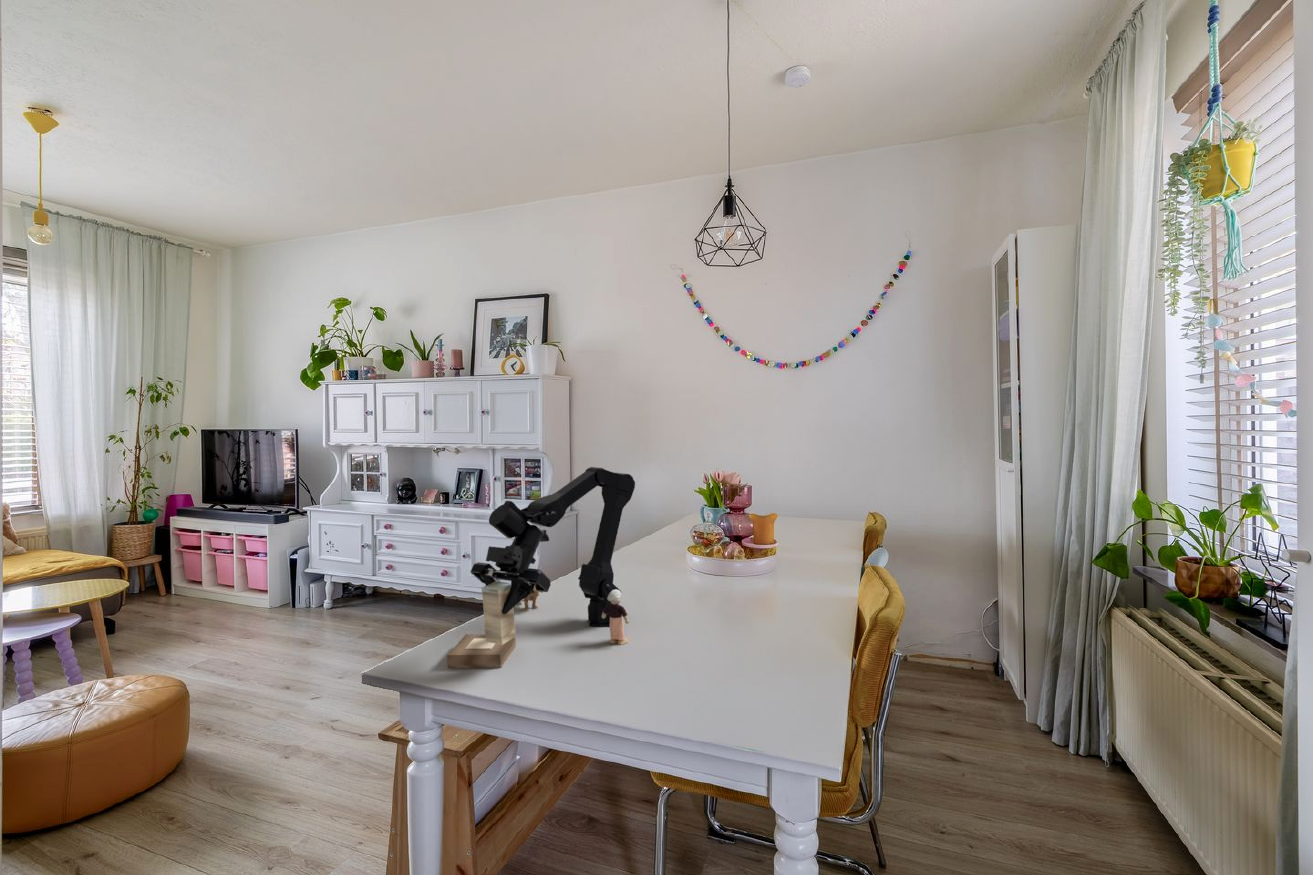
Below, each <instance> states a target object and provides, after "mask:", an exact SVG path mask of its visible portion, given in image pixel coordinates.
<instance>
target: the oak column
mask: <svg viewBox="0 0 1313 875" xmlns="http://www.w3.org/2000/svg"><path fill="white" fill-rule="evenodd" d="M510 590H511V582H504V581H500V582H497V581H495V582H493V583H491V584H489V585H487V586H486V585H485V586H483V587H481V594H482V595H481V596H482V606H483V621H484V623H483V624H484V634H485V636H486V642H490V643H495V644H501V645H503V644H504V643H506V642H508V641H509V640H511V639H513V638H515V639H516V637H517V636H516V635H517V634H516V624H515V610H514V607H515V606H514V607H513V608H512V609H511V610H510V611H509V612H508V613H506V614H503V613H502V609H503V606H504V603H505V601H506V599H507V596H508V594H509V592H510Z"/></svg>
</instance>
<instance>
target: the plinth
mask: <svg viewBox="0 0 1313 875" xmlns="http://www.w3.org/2000/svg"><path fill="white" fill-rule="evenodd" d="M516 644H517V643H516V637H515V638H513V639H511V640H509V641H508V642H506V643H504V644H503V645H501V644H495V643H490V642H486V636H485V633H478V634H465V635H464V636H463V637H461V639H460V640H459V641H458V643H456V645H454V646H453V648H452V649H451V650H450V651H448V654H446V662H447V669H502V667H503V665H504V664H505V663H506V661H507V660H508V658H509V657H510V656H511V654H512V653H513V651H514V650H515V648H516ZM504 662H505V663H504Z"/></svg>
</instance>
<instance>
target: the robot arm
mask: <svg viewBox="0 0 1313 875" xmlns="http://www.w3.org/2000/svg"><path fill="white" fill-rule="evenodd" d="M596 487H601V497H602V500H603V509H602V514H601V518H600V522H599V527H598V531H597V534H596V540H595V544H594V549H593V552H592V556H591V559H590V560H589V561H588V563H587V564H586V563H583V564H582V565H581V566H580V574H579V577H578V578H577V579H578V580H579V584H578V587H579V588H580V590H581V592H582V593H583V595H584V598H585V599H589V603H588V605H587V617H588V619H587V621H588V622H589V623H588V625H589V627H610V614H606V617H605V618H602V617H601V616H602V613H603V609H604V608H605V607H606V606H608V605H610V604H612V603H611V601H608V599H607V598H608V595H609V593H610V592H611V591H613V590H615V589H617V590H620V589H619V587H617V586H616V585H615V584H614V577H615V576H614V570H613V566H612V558H613V554H614V549H615V545H616V541H617V535H618V530H619V528H620V523H621V518H622V514H623V509H624V508H625V506H626V505H627V504H628V503H629V502H630V500H631V499H632V496H633V493H634V491H635V488H636V481H635V480H634V478H633V476H632V475H631V474H629V473H622V472H621V473H620V472H613V471H611V470H610V471H609V470H607V469H605V468H603V467H598V466H597V467H595V466H590V467H588V468H586V470H585V471H584V472H583V473H581V474H579V475H578V476H577V477H575V478H574V479H572V481H571V480H570V481H569V482H568V483H567V484H566V485H565V486H563V487H561V488H560V489H558V491H556V492H554V493H552V494H549V495H545V496H541V497H539V498H537V499H534V500H533V501H531V502H530V503H529V504H528V505H527V506H526V507H524V508H522V509H520V508H519V507H518V506H517V505H516V504H515V503H514V502H513V501H512V500H505V501H504V504H501V505H499V506H498V507H497V508H495V510H493V511H492V512H491V514H490V516H489V518H488V523H489V525H490V526H491V527H493V528H495V530H497V532H499V533H500V534H502V535H503V536H504V537H506V538H507V539H512V538H513V541H512V543H511V544H510V545H506V546H505V547H500V546H499V547H498V546H488V549H487V553H486V558H485V561H486V562H493V563H494V566H496V567H497V568H499V570H497V569H496V568H495V567H494V566H493V565H491V564H490V563H486V562H475V563H473V565H472V568H471V569H470V573H471V575H473V576H474V577H475V578H476V579H478V580H479V581H480V583H483V584H484V585H485V586H487V585H489V584H491V583H493V582H495V581H497V582H502V581H509V582H510V583H511V590H510V592H509V594H508V596H507V599H506V601H505V603H504V606H503V609H502V613H503V614H506V613H508V612H509V611H510V610H511V609H512V608H513V607H516V605H518V603H519V602H520V601H521V600H522V601H524V598H525V597H527V596H528V595H529V594H533V593H534V590H533V588H534V586H535V588H536V590H537V591H541V592H543V593H548V592H549V590H550V587H551V586H552V585H551V579H550V578H549V577H548V575H546V573H544V571H542V570H541V569H540V568H539V569H538V568H530V566H531V564H532V565H535V564H536V559H535V554H536V552H537V549H538V547H539V546H540V543H541V542H542V543H543V542H544V543H545V542H549V541H550V537H549V536H548V534H547V530H546V529H540V528H539V527H538V526H542V527H545V528H552V527H554V526H555V525H557V524H558V523H559V521H561V519H562V518H563V517H565V514H566V511H567V510H568V509H569V508H570V507H571V506H572V505H574V504H575V503H576V502H577V501H579V500H580V499H582V498H584V496H586V495H587V494H588V493H589V492H591V491H593V489H595V488H596ZM541 592H540V593H541ZM620 592H621V593H622V590H620Z"/></svg>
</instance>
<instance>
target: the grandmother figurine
mask: <svg viewBox="0 0 1313 875" xmlns="http://www.w3.org/2000/svg"><path fill="white" fill-rule="evenodd" d="M620 591H621V590H620V589H619V590H617V589H615V590H613V591H611V592H610V593H609V595H608V598H607V599H608V601H611V603H612V604H610V605H608V606H606V607H605V608H604V609H603V613H602V616H601V617H602V618H605V617H606V614H610V626H609V634H610V640H609V644H616V643H618V645H619V646H620V645H621V646H622V645H625V644H628V643H629V640H628V639H627V638H626V637H625V631H624V630H625V629H624V628H625V627H624V623H625V624H630V620H629V616H628V613H627V611H626V609H625V607H623V606H622V605H620V603H621V602H622V601H621V600H622V591H621V592H620ZM617 641H618V642H617ZM615 642H616V643H615Z"/></svg>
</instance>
